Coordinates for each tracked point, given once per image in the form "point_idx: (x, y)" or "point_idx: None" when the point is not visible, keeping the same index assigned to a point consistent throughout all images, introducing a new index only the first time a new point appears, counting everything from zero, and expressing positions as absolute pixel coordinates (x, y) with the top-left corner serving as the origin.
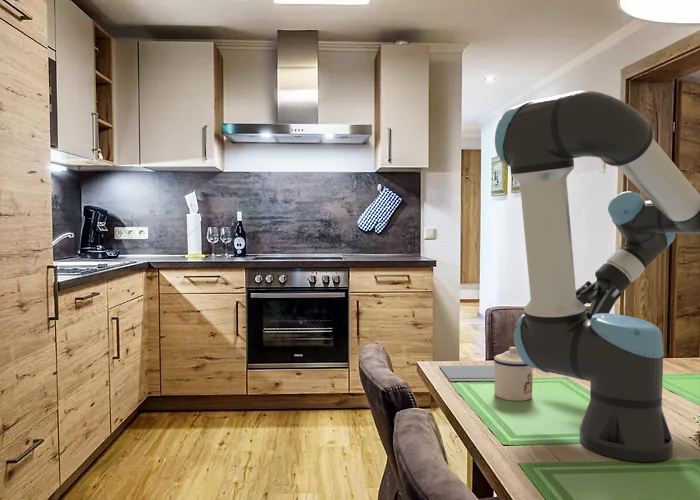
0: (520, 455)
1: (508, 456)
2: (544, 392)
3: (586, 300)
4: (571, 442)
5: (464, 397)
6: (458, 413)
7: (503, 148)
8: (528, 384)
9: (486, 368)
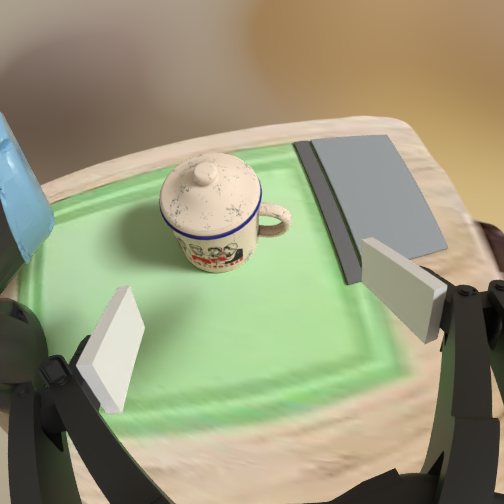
0: None
1: None
2: (259, 306)
3: (427, 462)
4: (20, 292)
5: None
6: (123, 160)
7: None
8: (183, 248)
9: (408, 204)
